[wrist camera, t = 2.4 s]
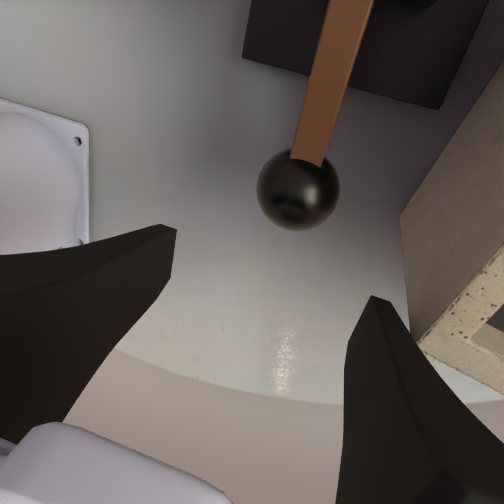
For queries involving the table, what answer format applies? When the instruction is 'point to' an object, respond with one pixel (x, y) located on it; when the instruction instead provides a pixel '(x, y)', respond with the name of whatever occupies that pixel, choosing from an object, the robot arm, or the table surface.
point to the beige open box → (461, 246)
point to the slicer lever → (315, 127)
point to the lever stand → (373, 43)
